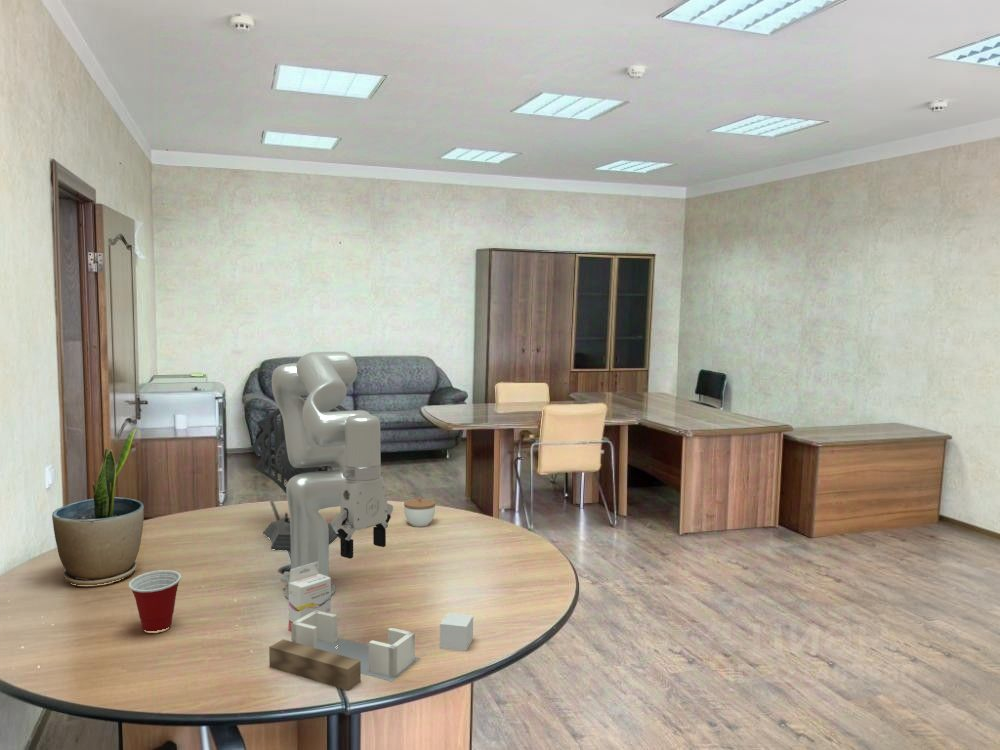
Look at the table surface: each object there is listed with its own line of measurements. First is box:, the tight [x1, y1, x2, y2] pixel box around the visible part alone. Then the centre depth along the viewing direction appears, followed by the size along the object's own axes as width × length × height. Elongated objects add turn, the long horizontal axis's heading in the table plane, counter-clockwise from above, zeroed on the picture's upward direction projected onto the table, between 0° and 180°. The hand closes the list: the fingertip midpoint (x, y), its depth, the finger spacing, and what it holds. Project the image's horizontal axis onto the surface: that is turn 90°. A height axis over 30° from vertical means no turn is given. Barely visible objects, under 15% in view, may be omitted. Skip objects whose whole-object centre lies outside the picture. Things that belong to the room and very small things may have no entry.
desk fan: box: [250, 396, 349, 552], centre depth 240 cm, size 34×33×45 cm
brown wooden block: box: [268, 638, 362, 692], centre depth 149 cm, size 20×4×5 cm, turn 63°
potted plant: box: [51, 428, 145, 585], centre depth 199 cm, size 21×22×40 cm
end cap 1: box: [290, 610, 338, 649], centre depth 162 cm, size 6×8×6 cm
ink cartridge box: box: [288, 562, 332, 632], centre depth 171 cm, size 9×5×15 cm, turn 141°
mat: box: [317, 637, 421, 682], centre depth 158 cm, size 27×11×1 cm, turn 65°
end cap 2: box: [368, 627, 416, 677], centre depth 153 cm, size 6×8×6 cm
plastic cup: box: [128, 569, 182, 631], centre depth 169 cm, size 11×11×12 cm
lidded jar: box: [403, 496, 436, 528], centre depth 255 cm, size 11×11×9 cm
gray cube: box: [439, 612, 474, 652], centre depth 164 cm, size 6×6×6 cm
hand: (363, 551), depth 160 cm, fingers open, 9 cm apart
